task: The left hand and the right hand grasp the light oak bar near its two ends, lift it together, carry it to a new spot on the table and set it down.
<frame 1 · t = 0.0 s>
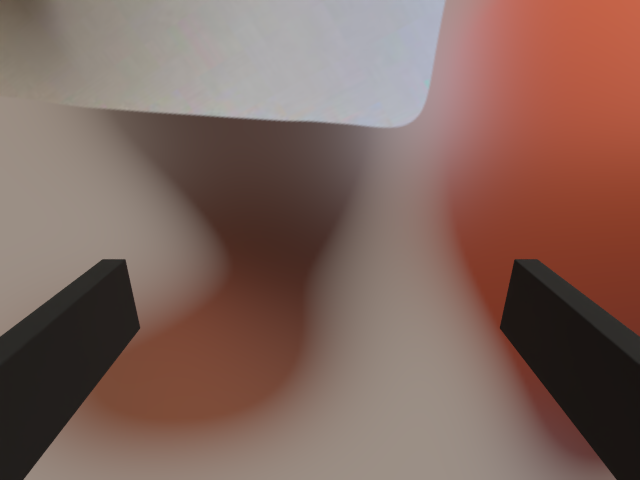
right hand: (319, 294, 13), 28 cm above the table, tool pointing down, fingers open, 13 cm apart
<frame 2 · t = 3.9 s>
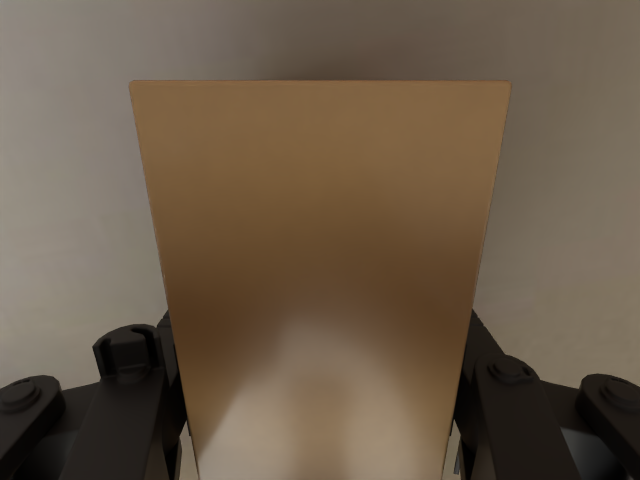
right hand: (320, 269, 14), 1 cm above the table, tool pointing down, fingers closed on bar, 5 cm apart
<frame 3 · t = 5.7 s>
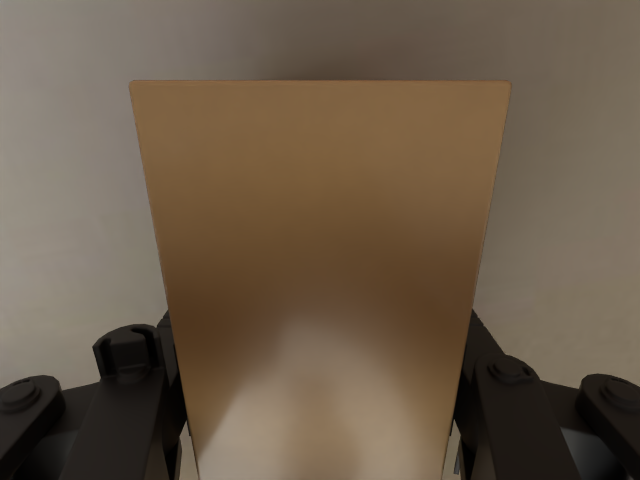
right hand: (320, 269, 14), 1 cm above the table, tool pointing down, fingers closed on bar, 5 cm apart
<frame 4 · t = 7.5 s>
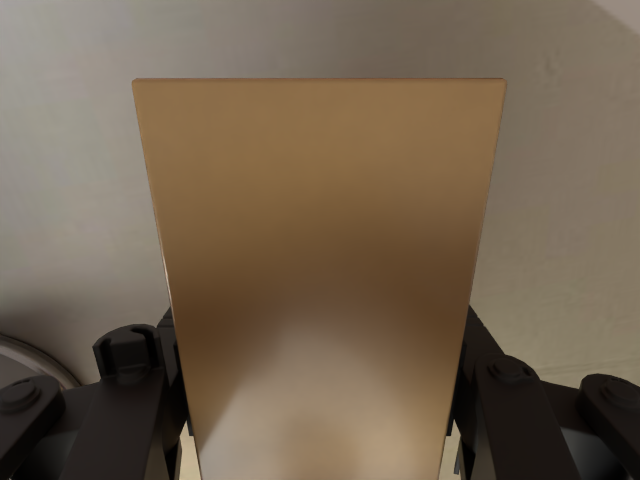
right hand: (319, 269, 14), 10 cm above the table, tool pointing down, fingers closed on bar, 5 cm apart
when the right hand's fingers open (2 cm above the table, at t = 10.9 s): bar drops 1 cm, on the table.
when the left hand's fingers open (5 cm above the table, at t = 11.1 s): bar stays where it is, on the table.
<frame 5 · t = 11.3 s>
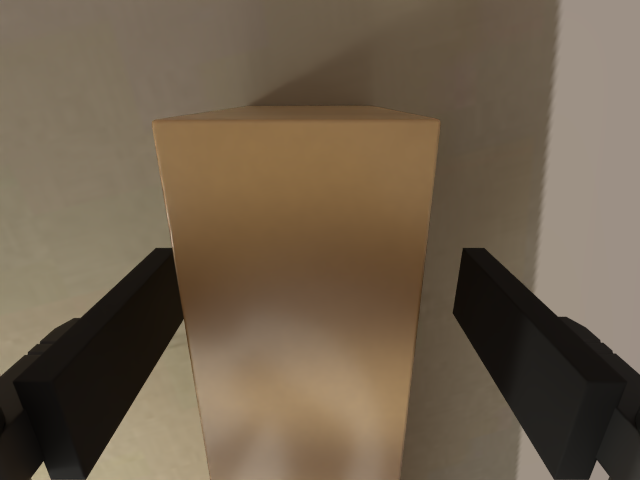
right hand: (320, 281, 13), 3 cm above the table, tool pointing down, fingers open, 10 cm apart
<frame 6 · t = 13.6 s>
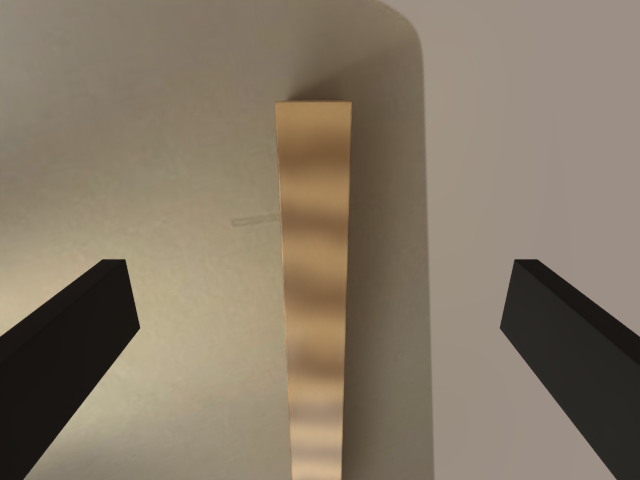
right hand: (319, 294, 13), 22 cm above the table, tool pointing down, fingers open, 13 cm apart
bar: (316, 344, 40), on the table
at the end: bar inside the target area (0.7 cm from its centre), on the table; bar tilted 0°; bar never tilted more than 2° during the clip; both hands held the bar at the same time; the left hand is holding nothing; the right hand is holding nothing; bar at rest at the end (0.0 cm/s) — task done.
